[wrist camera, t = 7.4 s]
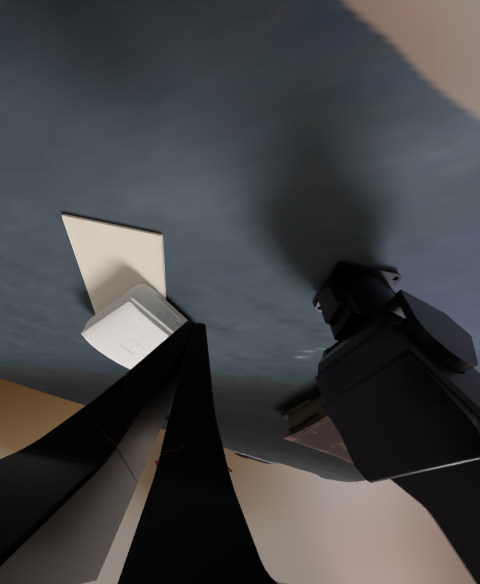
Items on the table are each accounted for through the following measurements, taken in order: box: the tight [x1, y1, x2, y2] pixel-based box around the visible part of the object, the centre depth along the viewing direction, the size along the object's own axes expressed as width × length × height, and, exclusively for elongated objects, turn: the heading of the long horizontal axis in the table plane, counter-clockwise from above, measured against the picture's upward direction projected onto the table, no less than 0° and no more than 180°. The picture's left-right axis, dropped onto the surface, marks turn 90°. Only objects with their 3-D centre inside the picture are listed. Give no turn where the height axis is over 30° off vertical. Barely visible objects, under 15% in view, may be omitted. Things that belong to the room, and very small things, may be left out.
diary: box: [281, 396, 353, 464], centre depth 38 cm, size 19×25×5 cm
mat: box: [61, 214, 166, 314], centre depth 25 cm, size 10×16×1 cm, turn 170°
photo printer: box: [81, 284, 188, 369], centre depth 27 cm, size 10×4×12 cm
